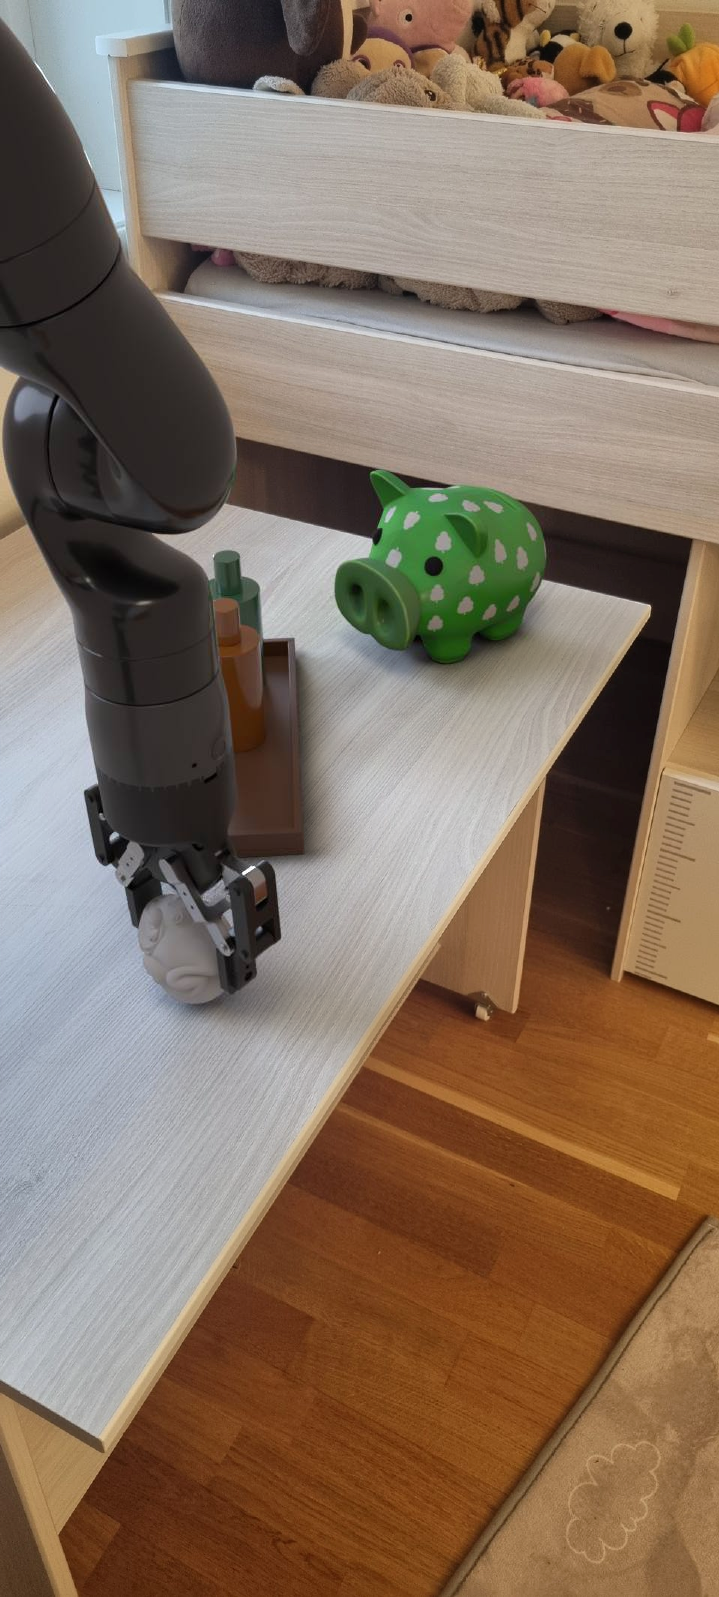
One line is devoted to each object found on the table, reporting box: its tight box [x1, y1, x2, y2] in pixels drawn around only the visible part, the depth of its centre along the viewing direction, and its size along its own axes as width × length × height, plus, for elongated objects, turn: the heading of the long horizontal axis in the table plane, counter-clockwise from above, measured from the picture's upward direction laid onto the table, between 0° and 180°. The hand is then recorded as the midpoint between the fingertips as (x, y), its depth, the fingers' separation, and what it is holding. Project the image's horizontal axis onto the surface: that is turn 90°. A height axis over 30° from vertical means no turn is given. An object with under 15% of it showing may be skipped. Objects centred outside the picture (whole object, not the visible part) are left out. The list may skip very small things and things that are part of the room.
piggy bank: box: [333, 469, 547, 664], centre depth 106 cm, size 14×18×15 cm
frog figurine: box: [137, 892, 232, 1005], centre depth 74 cm, size 6×7×7 cm
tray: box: [228, 637, 305, 858], centre depth 96 cm, size 27×10×2 cm, turn 4°
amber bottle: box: [213, 598, 267, 753], centre depth 94 cm, size 5×5×12 cm
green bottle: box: [208, 549, 266, 687], centre depth 100 cm, size 5×5×12 cm
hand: (192, 952), depth 75 cm, fingers open, 7 cm apart
